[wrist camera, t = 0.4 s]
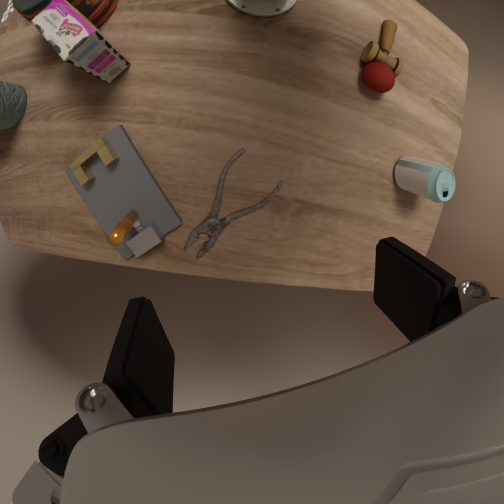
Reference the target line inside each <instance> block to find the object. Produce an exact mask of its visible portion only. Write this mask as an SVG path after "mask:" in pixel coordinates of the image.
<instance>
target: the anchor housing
mask: <svg viewBox="0 0 504 504" xmlns="http://www.w3.org/2000/svg"><path fill="white" fill-rule="evenodd" d="M163 236H164V234H163V233H162V231H161V230H160V228H159V227H158V225H157V224H156V223H155V221H154V220H153V221H151V222H150V223H148V225H147V226H146V228H145V229H143V230H142V231H140V232H139V233H136V232H135V233H134V234H132V235H131V236H130V237H129V239H128V240H127V242H126V244H127V245H128V247H129V248H130V249H131V251H132V252H133V253H134V255H135V256H136V257H139V256H140V255H142V254H143V253H145V252H146V251H148V250H149V249H151V248H153V247H154V246H156V245H157V244H159V243H160V242H162V239H163Z"/></svg>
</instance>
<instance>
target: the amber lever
mask: <svg viewBox="0 0 504 504" xmlns="http://www.w3.org/2000/svg"><path fill="white" fill-rule="evenodd" d="M138 218H139V215H138V213H137V212H136V211H135V210H130V211H129V212H128V213H127V214H126V215H125V216H124V217H123V219H122V220H121V221H120V222H119V223H118V224H117V225H116V226H115V228H114V229H113V230H112V231H111V232H110V233H109V235H108V242H109V243H110V244H111V245H112V246H119V245H120V244H121V243H122V241H123V240H124V238H125V237H126V235H127V234H128V232H129V231H130V230H131V228H132V227H133V226H134V227H135V228H137V227H138V226H139V227H138V228H137V229H136V230H137V231H138V233H139V232H140V231H142V230H143V229H145V227H144V226H143V224H142V225H141V222H140V220H139V219H138Z"/></svg>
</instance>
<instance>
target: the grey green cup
mask: <svg viewBox="0 0 504 504" xmlns="http://www.w3.org/2000/svg"><path fill="white" fill-rule="evenodd" d="M26 104H27V94H26V91H25V89H24V88H23V87H22V86H21V85H17V84H12V83H7V82H3V81H0V130H4V129H8V128H11V127H13V126H15V125H16V124H17V123H18V122H19V121H20V119H21V118H22V116H23V114H24V112H25V109H26Z"/></svg>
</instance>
